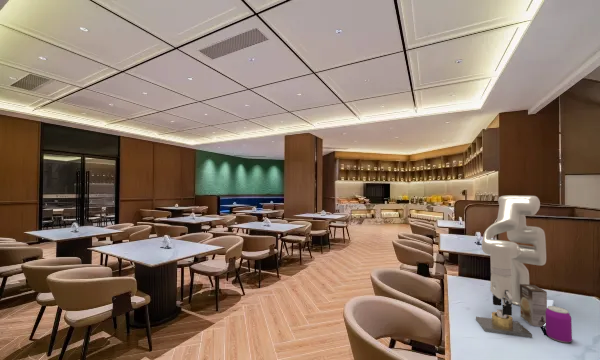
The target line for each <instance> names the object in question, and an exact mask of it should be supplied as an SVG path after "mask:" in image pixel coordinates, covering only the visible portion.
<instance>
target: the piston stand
mask: <svg viewBox="0 0 600 360" xmlns="http://www.w3.org/2000/svg"><path fill="white" fill-rule="evenodd" d="M496 312H497V316H498V317H501V318H506V319H507V315H504V314H503V309H500V308H499V309H496ZM475 321H476V322H477V323H478V324H479V326H480V327H481V328H482V330H483V331H484V332H486V333H493V334H501V335H506V336H507V335H508V336H515V337H522V338H528V339H533V334H532V333H531V332H530V331H529V330H528V329H527V328H526V327H525V326H524V325H523V324H521V323H520V322H519V321H515V320H513V328H512V329H504V328H500V327H497V326H495V325H494V324H493V323H492V317H491V318H489V317H482V316H475Z"/></svg>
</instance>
